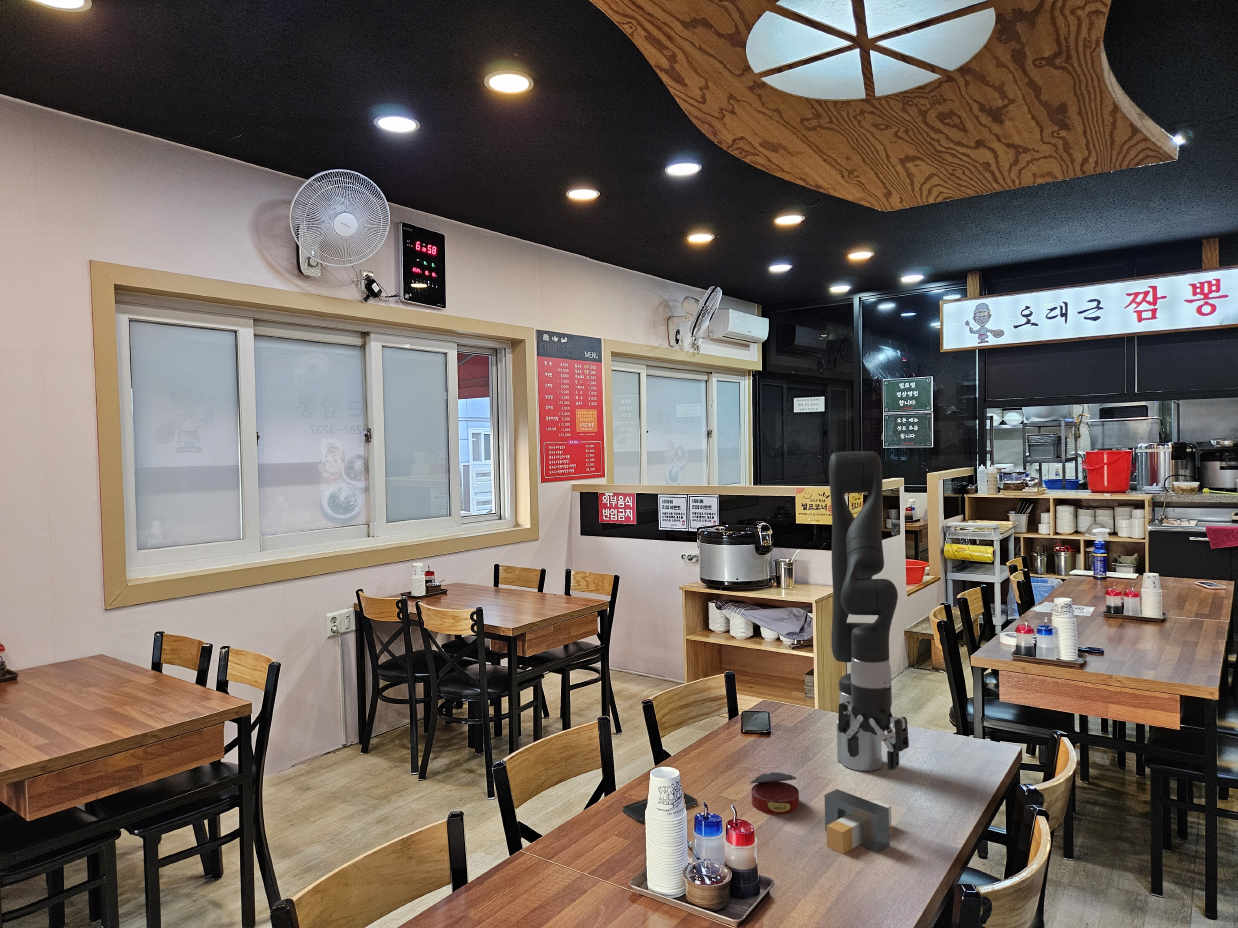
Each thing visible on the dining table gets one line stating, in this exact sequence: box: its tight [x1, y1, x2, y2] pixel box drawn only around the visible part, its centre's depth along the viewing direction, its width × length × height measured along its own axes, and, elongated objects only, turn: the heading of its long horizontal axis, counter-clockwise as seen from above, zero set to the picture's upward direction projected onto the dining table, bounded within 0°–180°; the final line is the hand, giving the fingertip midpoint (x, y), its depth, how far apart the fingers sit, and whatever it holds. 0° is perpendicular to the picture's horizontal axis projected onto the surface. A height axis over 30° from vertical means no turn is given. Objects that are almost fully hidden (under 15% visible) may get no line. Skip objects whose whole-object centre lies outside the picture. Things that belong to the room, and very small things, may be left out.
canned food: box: [749, 771, 800, 816], centre depth 166 cm, size 11×10×10 cm
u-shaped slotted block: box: [824, 788, 891, 853], centre depth 150 cm, size 12×4×7 cm, turn 39°
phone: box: [622, 792, 698, 825], centre depth 166 cm, size 8×1×15 cm
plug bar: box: [826, 799, 892, 855], centre depth 151 cm, size 4×16×4 cm, turn 129°
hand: (873, 762), depth 154 cm, fingers open, 8 cm apart
